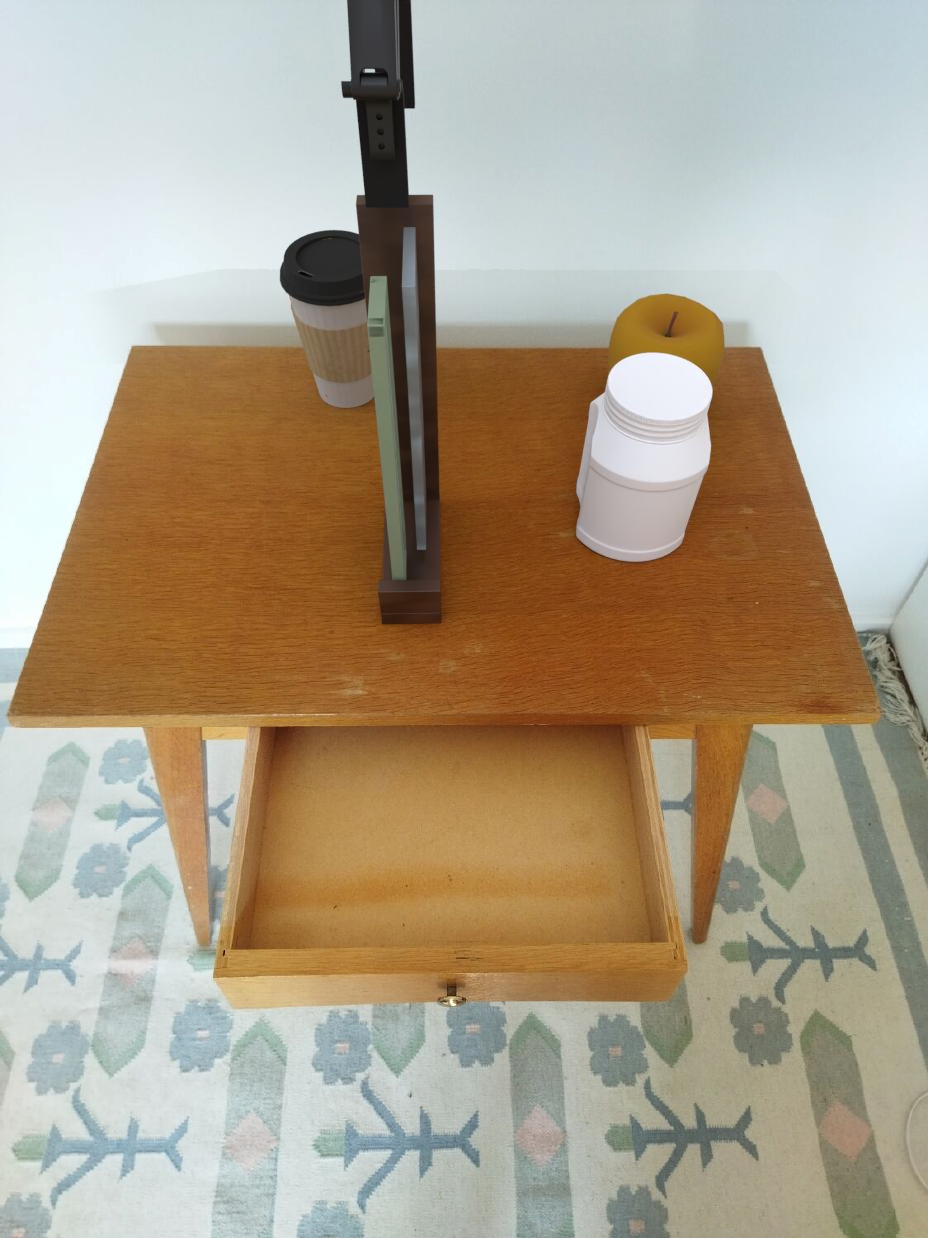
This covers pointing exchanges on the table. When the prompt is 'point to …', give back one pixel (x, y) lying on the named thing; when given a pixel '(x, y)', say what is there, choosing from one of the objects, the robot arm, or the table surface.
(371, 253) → the window frame
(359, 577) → the table surface
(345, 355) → the coffee cup
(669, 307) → the apple
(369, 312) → the window sash
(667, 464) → the jar
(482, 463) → the table surface
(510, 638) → the table surface
